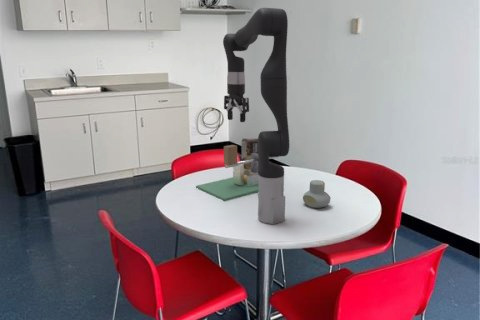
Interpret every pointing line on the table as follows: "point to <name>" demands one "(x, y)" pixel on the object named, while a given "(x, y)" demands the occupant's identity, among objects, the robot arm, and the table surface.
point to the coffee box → (248, 150)
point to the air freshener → (316, 195)
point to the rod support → (254, 163)
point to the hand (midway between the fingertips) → (236, 120)
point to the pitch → (227, 189)
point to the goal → (251, 178)
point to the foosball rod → (236, 163)
